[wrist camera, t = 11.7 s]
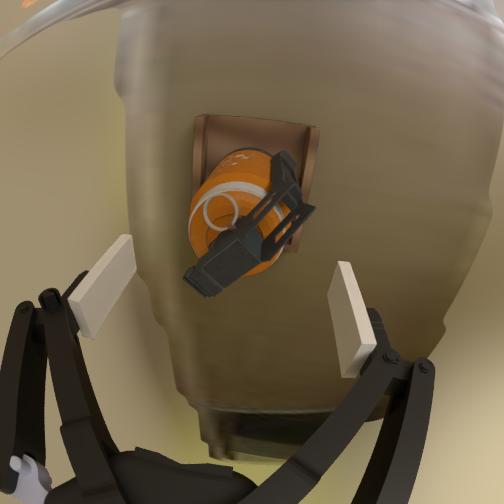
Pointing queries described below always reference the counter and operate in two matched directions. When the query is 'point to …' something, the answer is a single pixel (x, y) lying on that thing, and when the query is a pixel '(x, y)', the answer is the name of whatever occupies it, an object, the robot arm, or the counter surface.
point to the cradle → (256, 136)
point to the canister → (243, 217)
